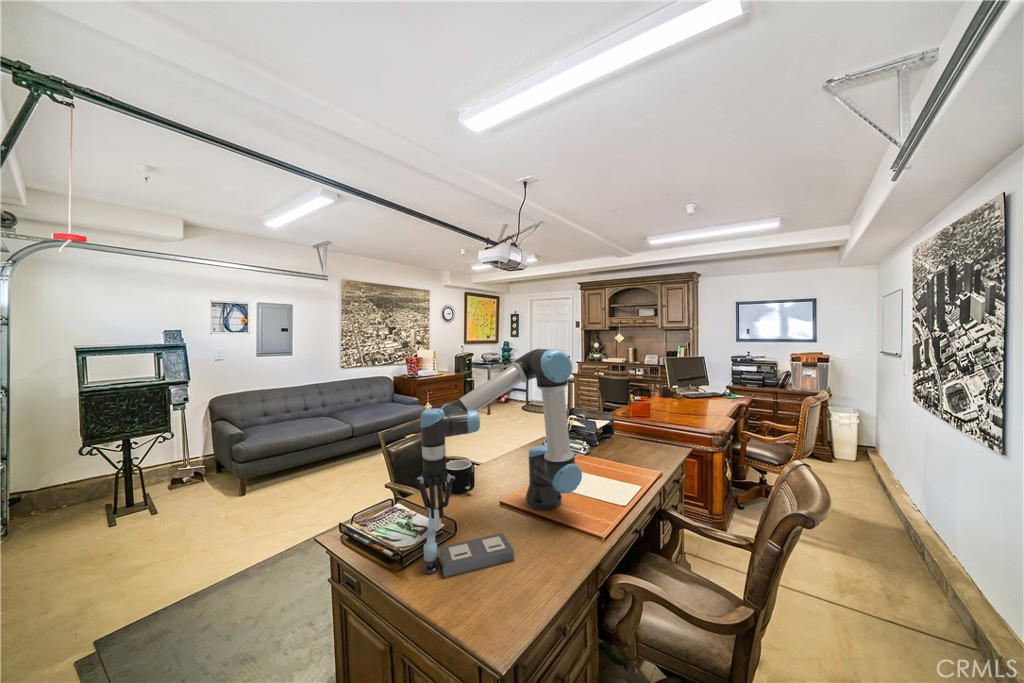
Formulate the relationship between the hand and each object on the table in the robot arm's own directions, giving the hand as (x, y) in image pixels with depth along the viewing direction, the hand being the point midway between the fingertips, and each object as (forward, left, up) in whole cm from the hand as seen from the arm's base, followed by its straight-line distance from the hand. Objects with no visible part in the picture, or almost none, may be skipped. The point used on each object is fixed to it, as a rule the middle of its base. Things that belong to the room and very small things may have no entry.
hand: (438, 527), depth 120 cm
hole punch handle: (+2, -3, -4) cm, 5 cm away
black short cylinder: (+4, +9, -8) cm, 12 cm away
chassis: (-10, +9, -8) cm, 16 cm away
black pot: (-15, -43, -8) cm, 46 cm away
